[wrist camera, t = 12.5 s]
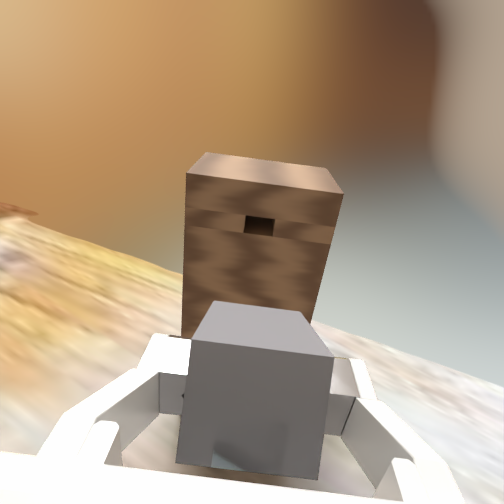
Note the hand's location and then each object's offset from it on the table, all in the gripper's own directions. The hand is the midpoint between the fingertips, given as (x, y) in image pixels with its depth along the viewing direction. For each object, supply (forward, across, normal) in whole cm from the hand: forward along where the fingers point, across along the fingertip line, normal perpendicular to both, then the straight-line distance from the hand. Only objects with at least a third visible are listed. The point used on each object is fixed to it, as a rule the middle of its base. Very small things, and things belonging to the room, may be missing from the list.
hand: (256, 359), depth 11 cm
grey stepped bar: (+4, 0, -5) cm, 6 cm away
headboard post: (+25, 0, -30) cm, 39 cm away
